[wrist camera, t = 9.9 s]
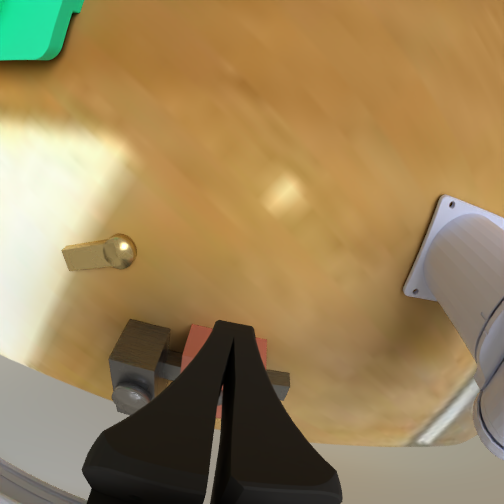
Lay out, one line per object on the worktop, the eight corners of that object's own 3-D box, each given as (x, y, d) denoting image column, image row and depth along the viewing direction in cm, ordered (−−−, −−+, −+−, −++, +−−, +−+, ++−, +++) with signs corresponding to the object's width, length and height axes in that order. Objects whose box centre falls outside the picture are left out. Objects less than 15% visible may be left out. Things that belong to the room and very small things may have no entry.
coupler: (297, 353, 26) (301, 409, 20) (276, 402, 29) (276, 453, 24) (129, 319, 25) (103, 368, 20) (132, 373, 28) (113, 419, 23)
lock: (266, 339, 25) (265, 380, 21) (248, 392, 28) (245, 430, 24) (192, 323, 25) (179, 363, 21) (184, 379, 28) (174, 416, 24)
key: (131, 231, 22) (127, 236, 21) (140, 262, 23) (136, 267, 22) (65, 242, 22) (60, 246, 22) (75, 269, 23) (70, 274, 23)
